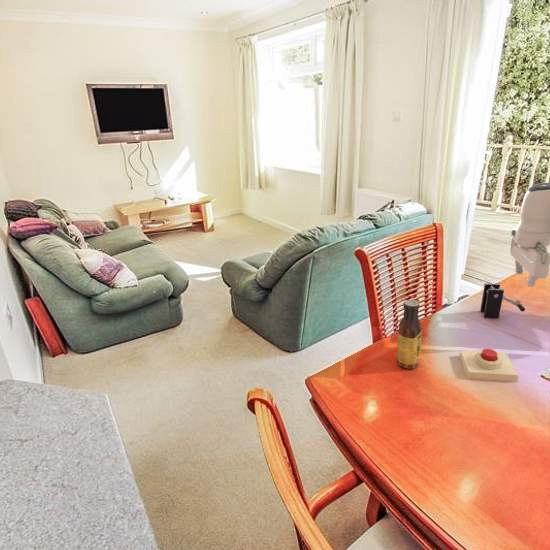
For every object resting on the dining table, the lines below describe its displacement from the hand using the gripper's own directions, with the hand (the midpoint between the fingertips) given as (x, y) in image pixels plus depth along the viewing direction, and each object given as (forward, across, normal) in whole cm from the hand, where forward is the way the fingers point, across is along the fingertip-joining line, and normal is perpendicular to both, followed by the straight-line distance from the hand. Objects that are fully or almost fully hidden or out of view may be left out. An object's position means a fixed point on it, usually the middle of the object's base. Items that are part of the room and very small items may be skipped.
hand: (524, 279), depth 119 cm
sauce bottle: (+15, -27, +37) cm, 48 cm away
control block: (+15, -27, +16) cm, 35 cm away
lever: (+8, +1, +4) cm, 10 cm away
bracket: (+15, +1, +8) cm, 17 cm away
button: (+12, -27, +16) cm, 34 cm away
